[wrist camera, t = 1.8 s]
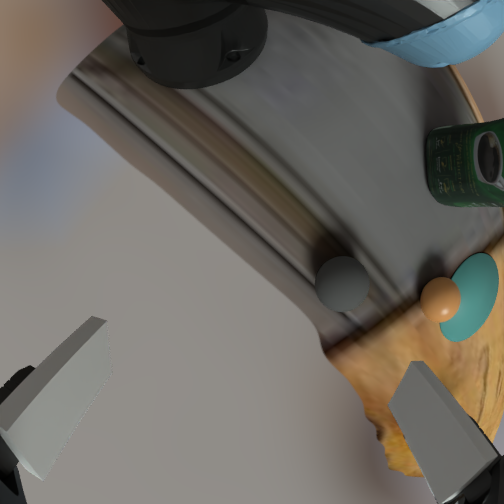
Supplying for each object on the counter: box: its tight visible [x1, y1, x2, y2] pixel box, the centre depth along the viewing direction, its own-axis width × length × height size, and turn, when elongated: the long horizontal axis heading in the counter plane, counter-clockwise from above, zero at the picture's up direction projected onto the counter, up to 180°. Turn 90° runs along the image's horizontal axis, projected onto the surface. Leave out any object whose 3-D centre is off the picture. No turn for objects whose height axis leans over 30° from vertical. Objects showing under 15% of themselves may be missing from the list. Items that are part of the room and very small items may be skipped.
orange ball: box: [420, 277, 461, 322], centre depth 26 cm, size 6×6×6 cm
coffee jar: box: [426, 118, 504, 207], centre depth 16 cm, size 10×8×19 cm
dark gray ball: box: [315, 256, 369, 312], centre depth 26 cm, size 6×6×6 cm
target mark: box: [440, 253, 499, 342], centre depth 29 cm, size 14×14×1 cm
